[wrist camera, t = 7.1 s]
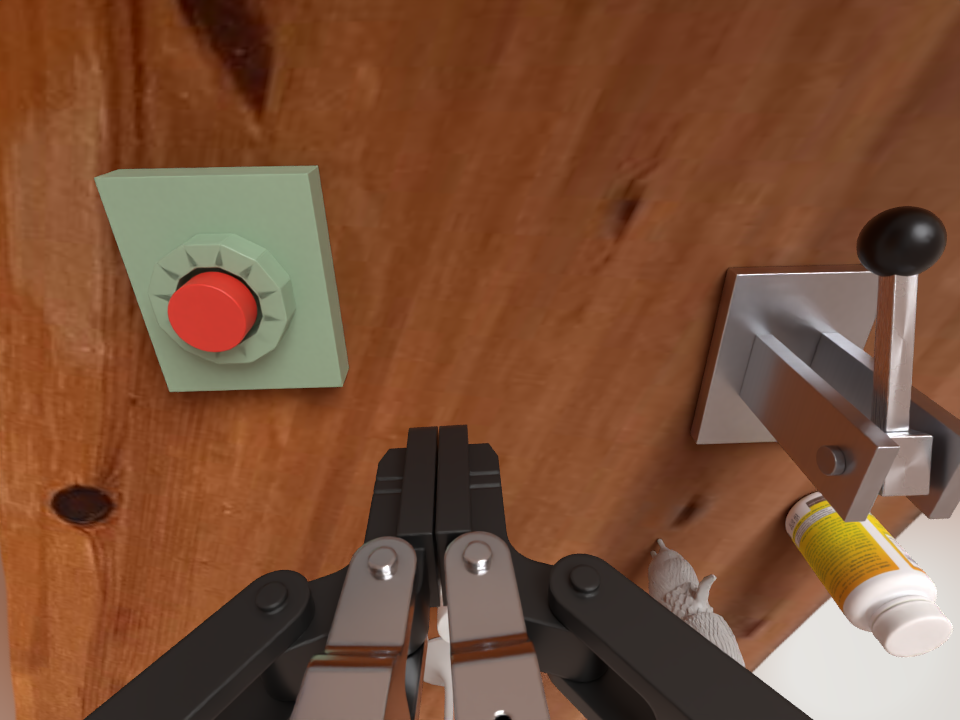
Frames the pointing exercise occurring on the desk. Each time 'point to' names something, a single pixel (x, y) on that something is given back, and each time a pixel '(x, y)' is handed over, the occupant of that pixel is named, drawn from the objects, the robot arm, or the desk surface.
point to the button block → (234, 269)
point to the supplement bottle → (869, 577)
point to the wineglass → (440, 670)
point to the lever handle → (899, 333)
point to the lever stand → (814, 385)
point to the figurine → (689, 598)
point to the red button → (212, 311)
